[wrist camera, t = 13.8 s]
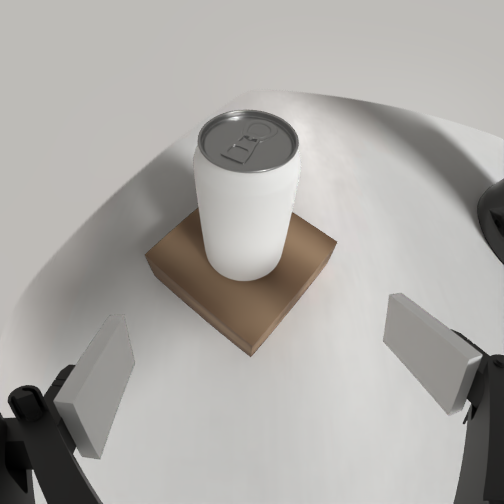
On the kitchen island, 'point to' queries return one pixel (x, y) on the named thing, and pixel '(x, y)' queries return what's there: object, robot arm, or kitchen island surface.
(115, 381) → the robot arm
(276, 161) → the can
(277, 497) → the kitchen island surface
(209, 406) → the kitchen island surface
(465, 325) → the kitchen island surface
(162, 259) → the walnut stand
